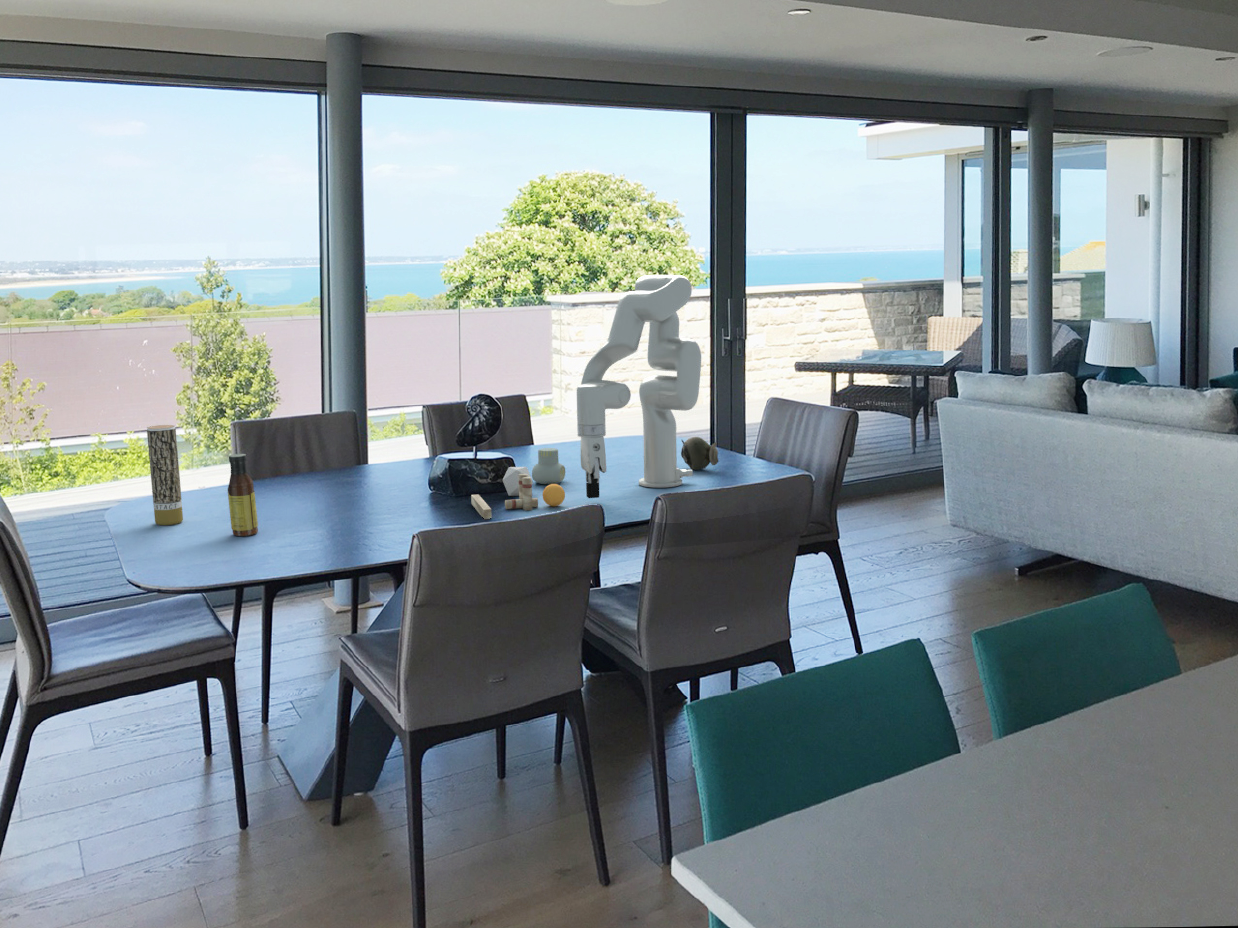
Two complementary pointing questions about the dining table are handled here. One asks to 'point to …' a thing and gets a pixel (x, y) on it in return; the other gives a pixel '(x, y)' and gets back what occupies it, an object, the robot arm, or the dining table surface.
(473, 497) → the backstop
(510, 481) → the die
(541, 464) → the air freshener
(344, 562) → the dining table surface
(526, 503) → the pin
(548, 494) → the ball
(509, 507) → the front pin
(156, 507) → the paper tube
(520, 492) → the pin
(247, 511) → the sauce bottle
